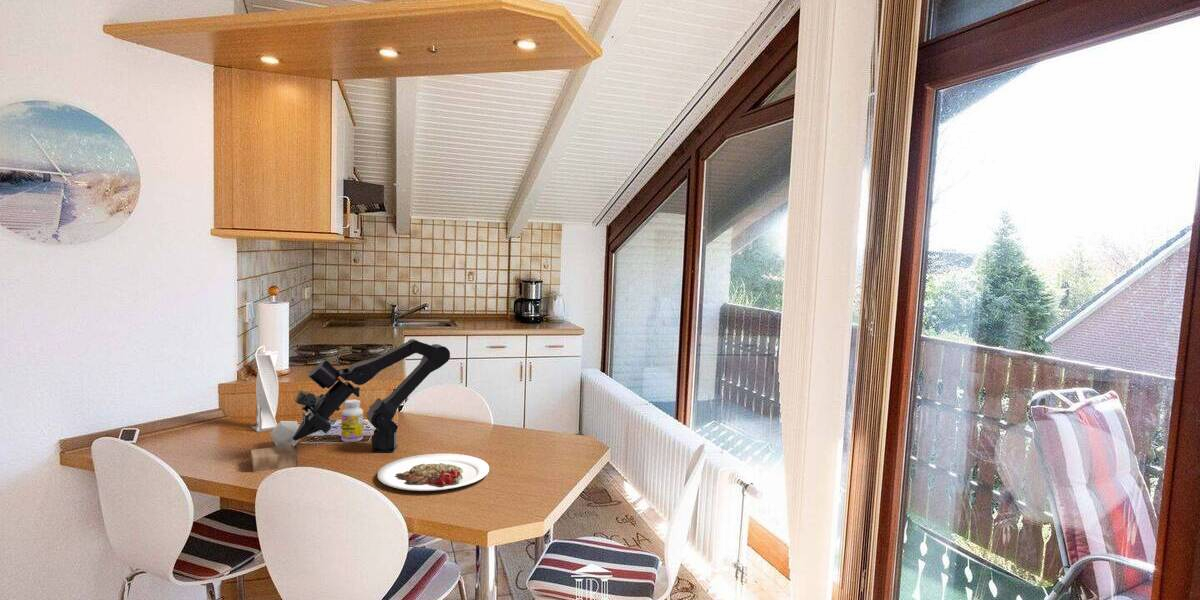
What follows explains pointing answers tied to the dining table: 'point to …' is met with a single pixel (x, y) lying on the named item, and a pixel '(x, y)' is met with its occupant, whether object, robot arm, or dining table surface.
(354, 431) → the supplement bottle
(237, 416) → the dining table surface
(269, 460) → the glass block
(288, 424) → the die
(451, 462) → the plated food
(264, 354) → the skyscraper
